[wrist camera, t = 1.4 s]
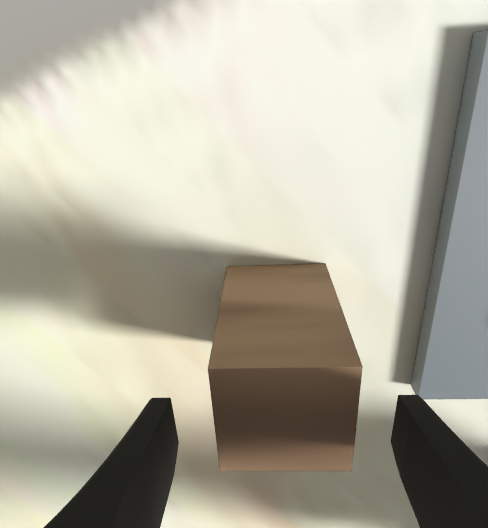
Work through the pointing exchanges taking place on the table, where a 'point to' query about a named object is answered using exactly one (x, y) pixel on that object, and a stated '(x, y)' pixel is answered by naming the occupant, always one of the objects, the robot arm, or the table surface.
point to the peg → (283, 372)
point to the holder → (460, 257)
